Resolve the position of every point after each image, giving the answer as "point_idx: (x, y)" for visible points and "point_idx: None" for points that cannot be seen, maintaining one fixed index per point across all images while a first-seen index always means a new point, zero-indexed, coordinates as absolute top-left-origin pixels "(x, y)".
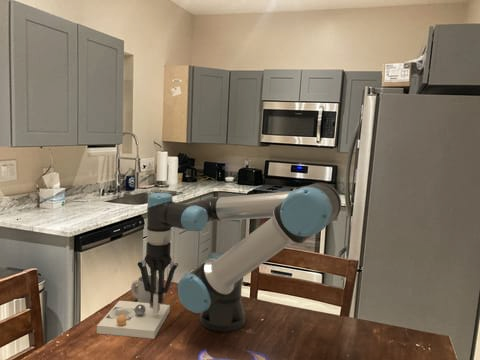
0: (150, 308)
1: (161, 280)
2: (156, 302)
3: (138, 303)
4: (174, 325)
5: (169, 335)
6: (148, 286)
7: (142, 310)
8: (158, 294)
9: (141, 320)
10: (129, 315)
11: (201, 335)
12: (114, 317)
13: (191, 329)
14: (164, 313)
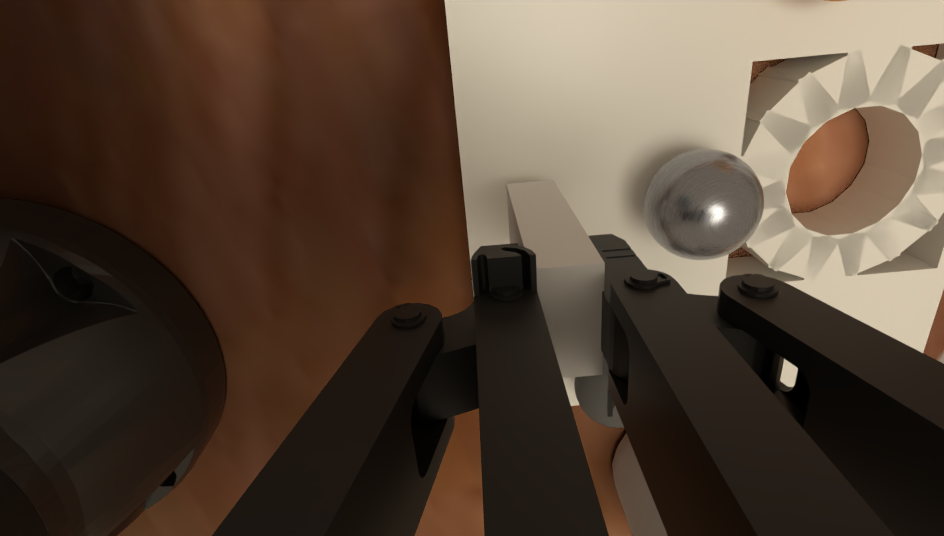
0: None
1: (500, 459)
2: (535, 223)
3: None
4: (364, 201)
5: (332, 25)
6: (752, 367)
7: (672, 177)
8: (518, 259)
9: (636, 91)
10: (775, 156)
11: (76, 104)
12: (915, 77)
13: (205, 177)
14: None
